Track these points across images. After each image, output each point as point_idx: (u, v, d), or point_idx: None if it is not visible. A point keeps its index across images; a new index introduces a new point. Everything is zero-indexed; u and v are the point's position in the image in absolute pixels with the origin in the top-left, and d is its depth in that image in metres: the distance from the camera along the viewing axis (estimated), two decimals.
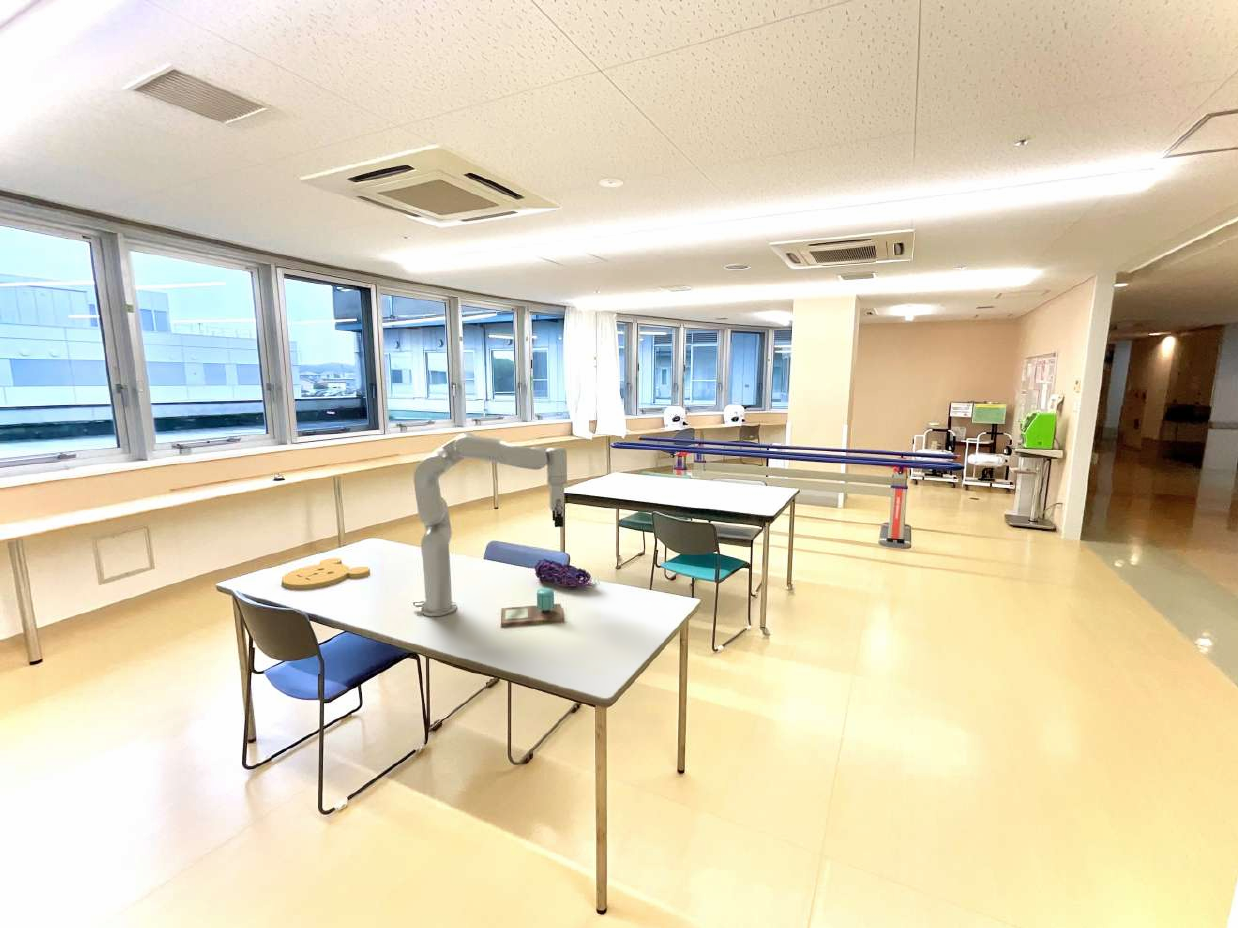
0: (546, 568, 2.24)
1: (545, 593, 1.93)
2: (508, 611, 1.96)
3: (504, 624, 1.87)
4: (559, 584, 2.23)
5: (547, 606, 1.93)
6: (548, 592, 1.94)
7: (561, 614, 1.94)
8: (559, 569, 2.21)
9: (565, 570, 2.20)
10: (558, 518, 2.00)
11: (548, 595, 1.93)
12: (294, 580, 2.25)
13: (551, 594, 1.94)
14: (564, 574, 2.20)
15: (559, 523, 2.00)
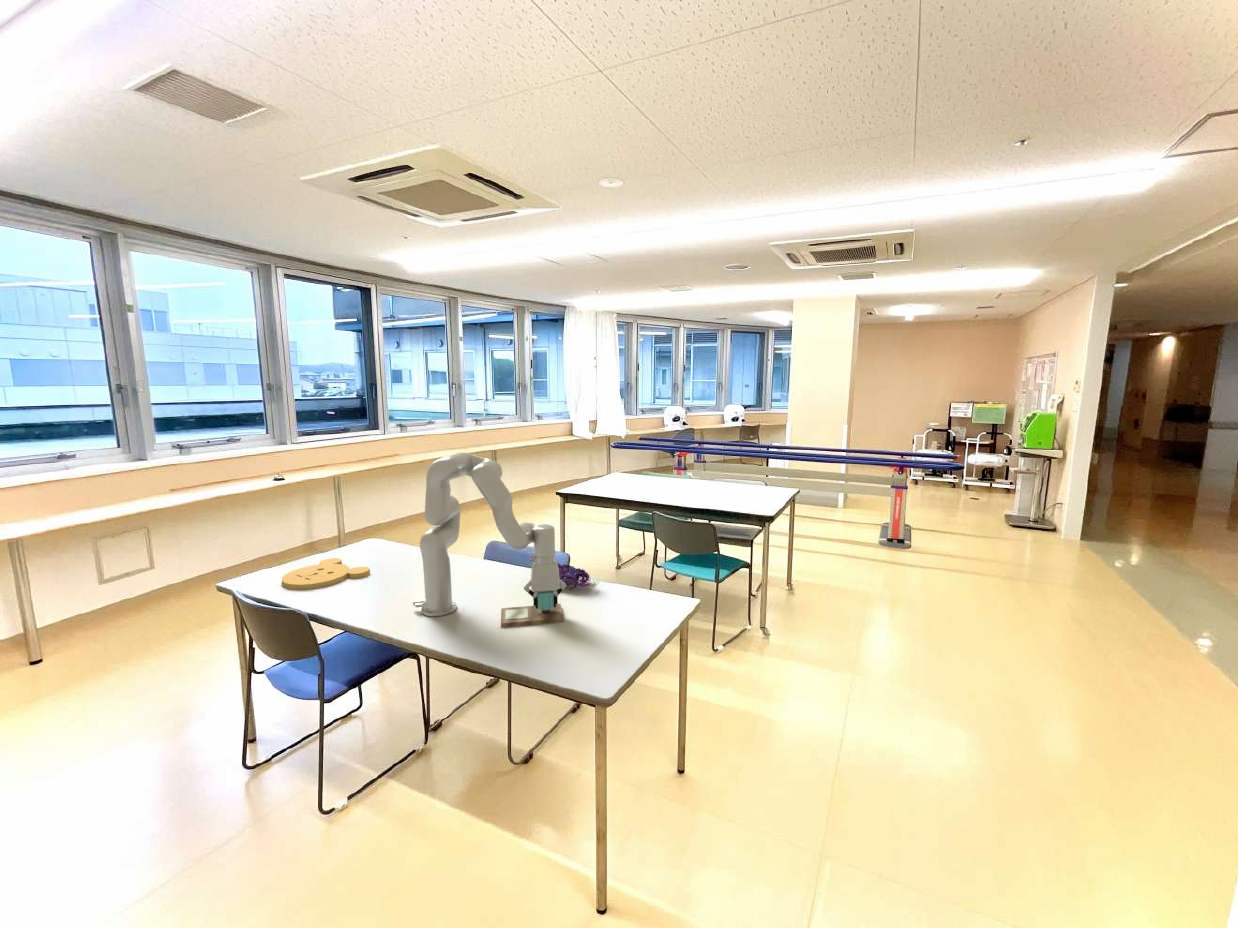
0: None
1: (545, 593, 1.93)
2: (508, 611, 1.96)
3: (504, 624, 1.87)
4: None
5: (547, 606, 1.93)
6: (548, 592, 1.94)
7: (561, 614, 1.94)
8: None
9: (564, 570, 2.20)
10: None
11: (548, 595, 1.93)
12: (294, 580, 2.25)
13: (551, 594, 1.94)
14: (563, 574, 2.20)
15: None
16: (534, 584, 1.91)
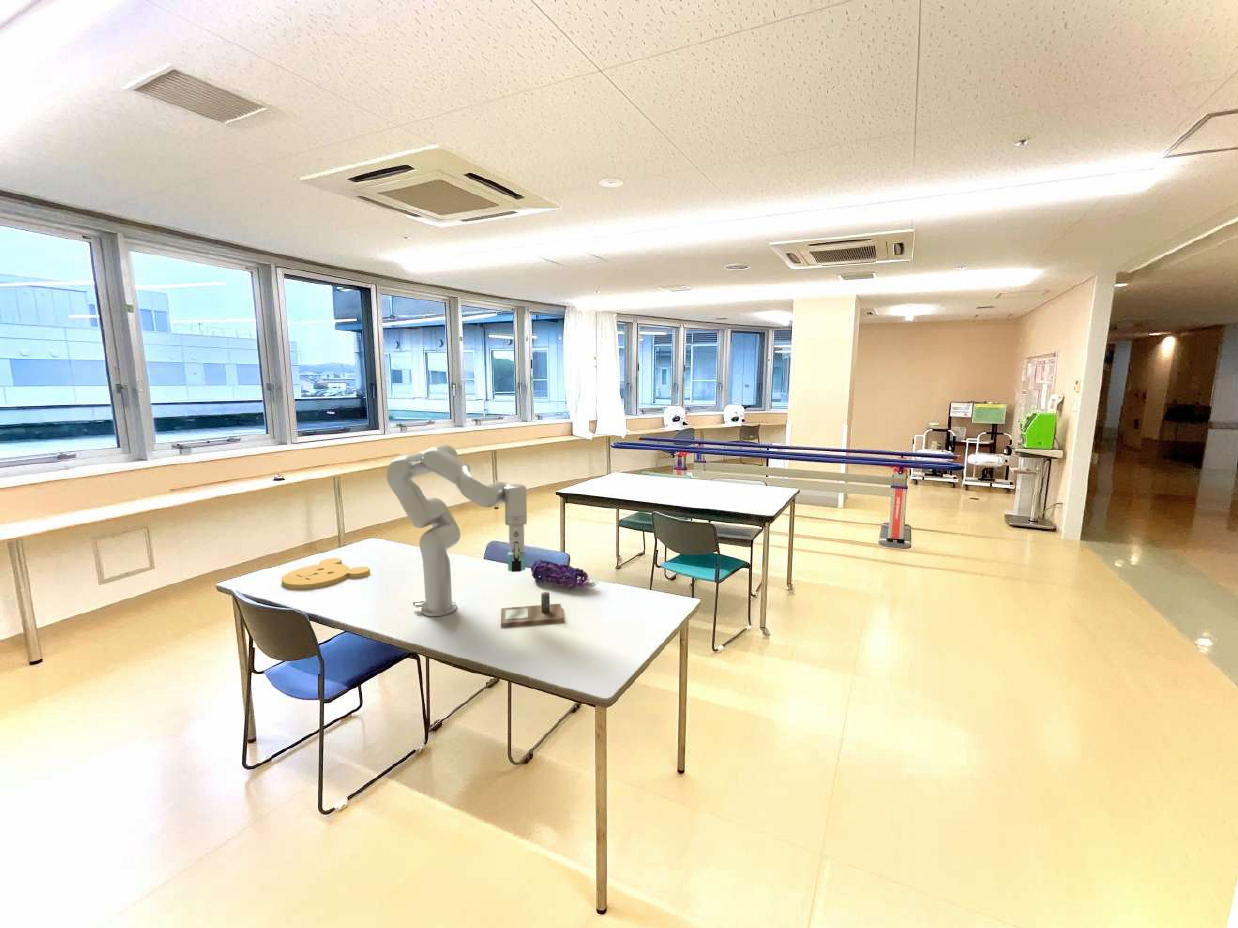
0: (543, 569, 2.24)
1: (522, 552, 1.91)
2: (508, 611, 1.96)
3: (504, 624, 1.87)
4: (557, 584, 2.23)
5: None
6: (520, 551, 1.92)
7: (561, 614, 1.94)
8: (557, 569, 2.21)
9: (563, 570, 2.20)
10: None
11: None
12: (294, 580, 2.25)
13: None
14: (562, 574, 2.20)
15: None
16: None
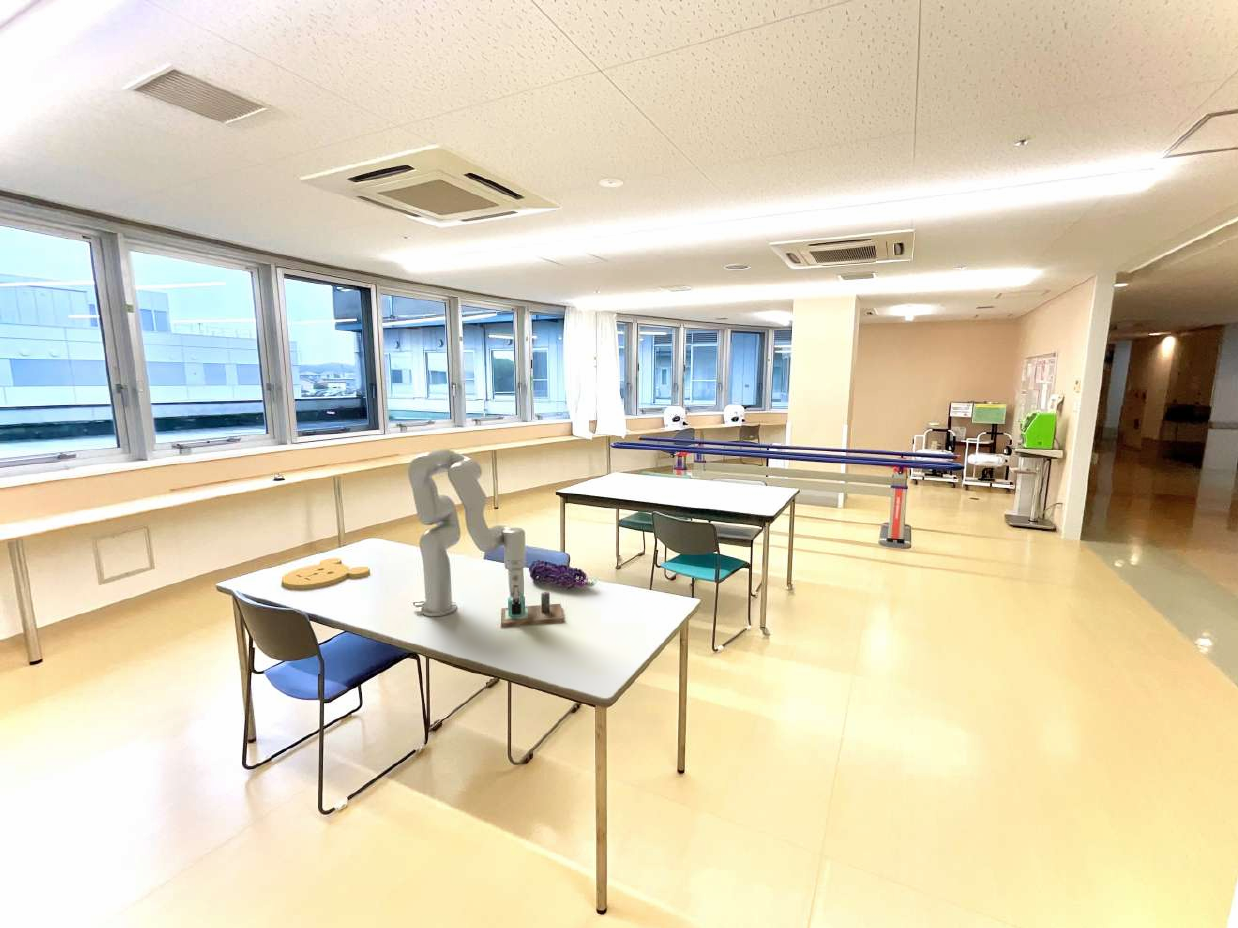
0: (541, 569, 2.23)
1: (522, 597, 1.94)
2: None
3: (504, 624, 1.87)
4: (555, 585, 2.22)
5: None
6: (520, 596, 1.95)
7: (561, 614, 1.94)
8: (556, 569, 2.20)
9: (562, 570, 2.20)
10: None
11: None
12: (294, 580, 2.25)
13: None
14: (561, 574, 2.19)
15: None
16: (523, 588, 1.89)
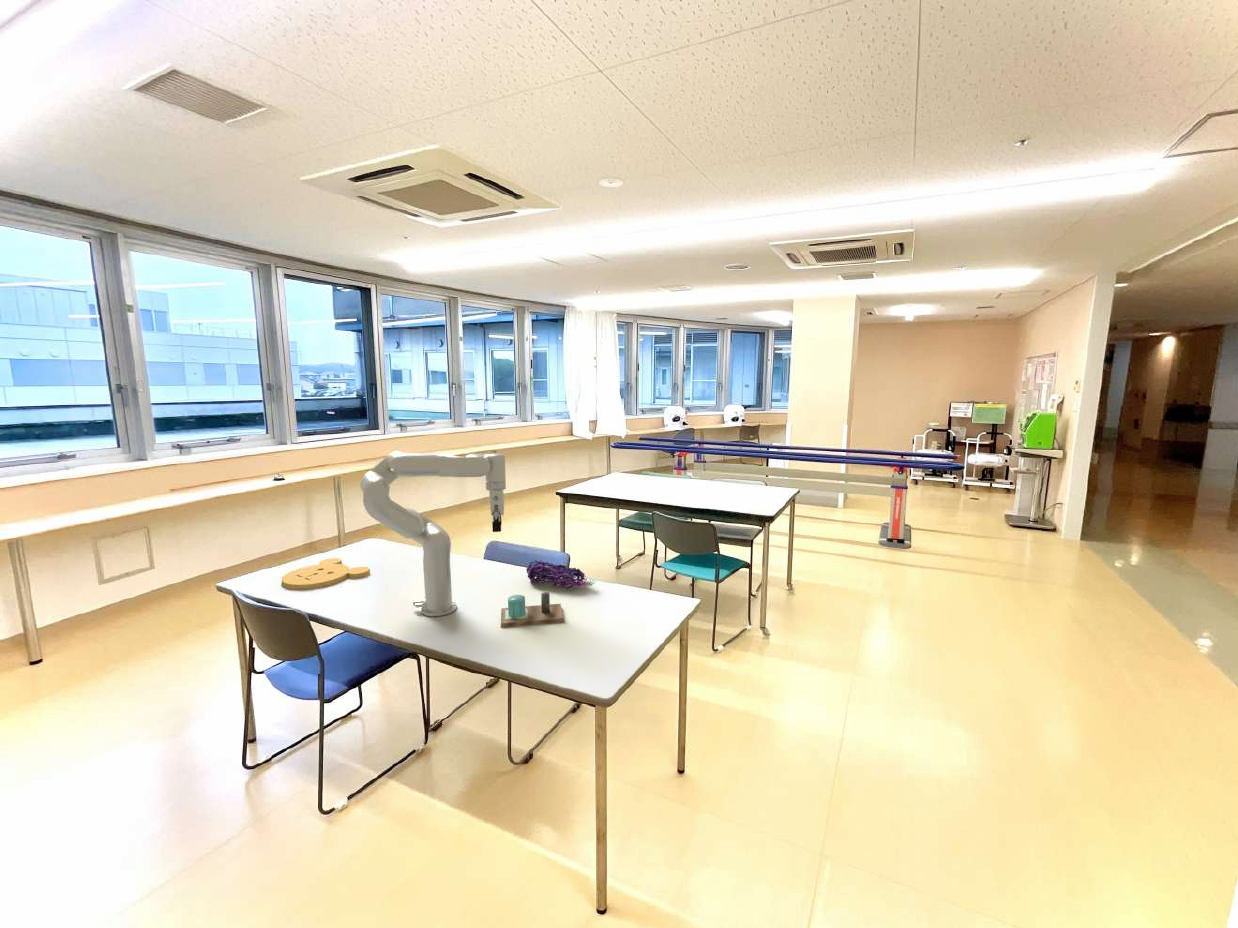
0: (540, 570, 2.23)
1: (522, 597, 1.94)
2: None
3: (504, 624, 1.87)
4: (554, 585, 2.22)
5: None
6: (520, 596, 1.95)
7: (561, 614, 1.94)
8: (554, 570, 2.20)
9: (561, 570, 2.20)
10: None
11: None
12: (294, 580, 2.25)
13: None
14: (560, 574, 2.19)
15: None
16: (503, 508, 2.05)
